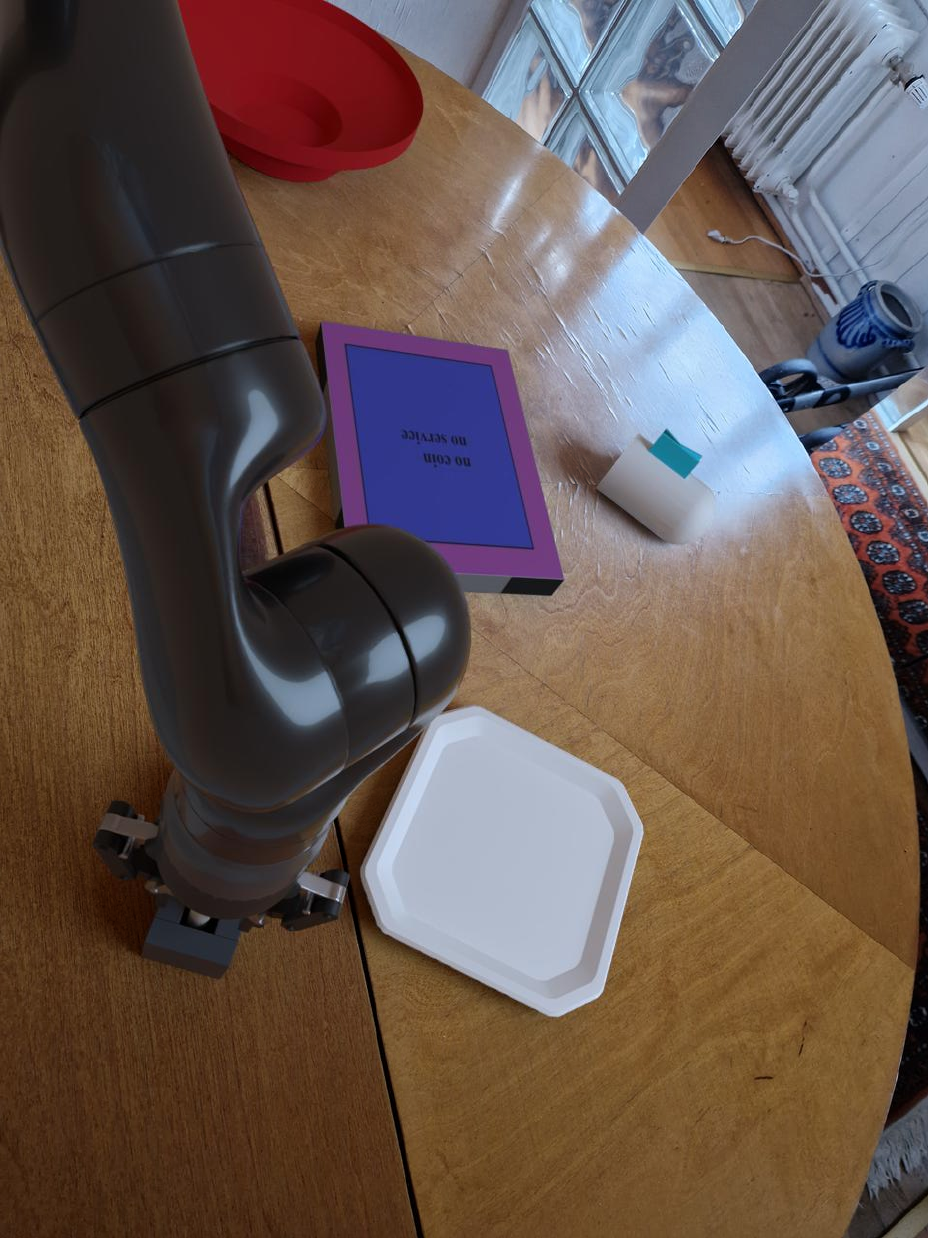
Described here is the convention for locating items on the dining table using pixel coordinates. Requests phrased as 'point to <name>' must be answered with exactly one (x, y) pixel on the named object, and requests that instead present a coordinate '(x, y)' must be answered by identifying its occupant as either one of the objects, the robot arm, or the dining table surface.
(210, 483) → the robot arm
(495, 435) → the book
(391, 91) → the bowl
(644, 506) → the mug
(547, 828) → the plate
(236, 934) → the pen block
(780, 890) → the dining table surface
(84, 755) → the dining table surface
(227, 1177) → the dining table surface
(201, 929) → the stylus
